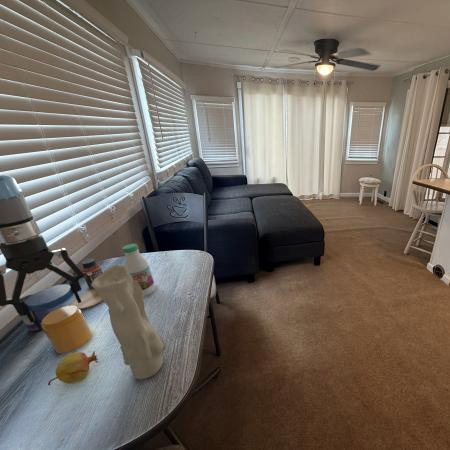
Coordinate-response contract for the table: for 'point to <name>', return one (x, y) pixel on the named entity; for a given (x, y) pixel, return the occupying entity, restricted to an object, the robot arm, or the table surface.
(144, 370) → the vase
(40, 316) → the pill bottle
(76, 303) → the coaster
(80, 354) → the fruit
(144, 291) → the milk bottle
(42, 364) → the table surface
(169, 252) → the table surface
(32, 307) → the lid
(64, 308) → the jar
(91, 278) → the supplement bottle
